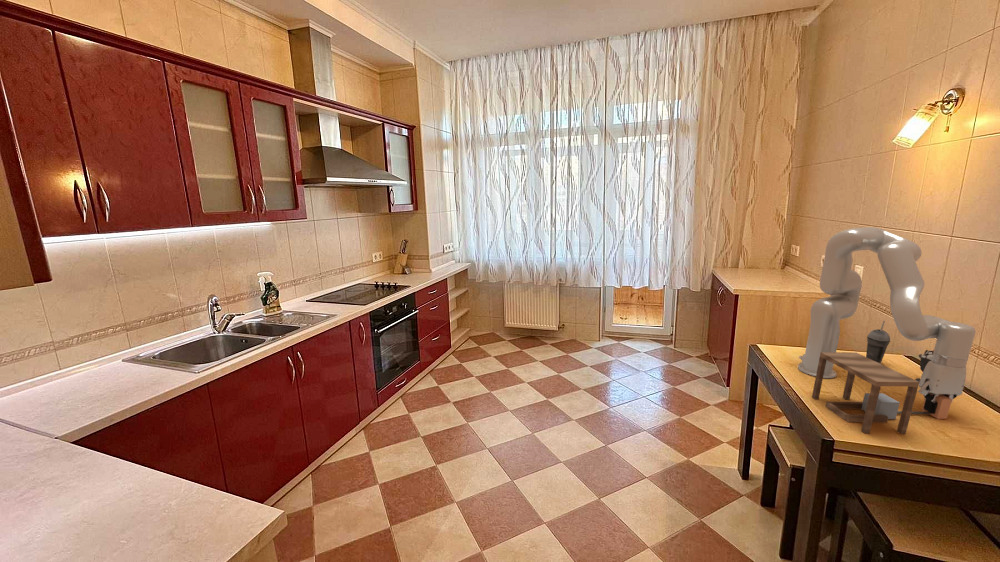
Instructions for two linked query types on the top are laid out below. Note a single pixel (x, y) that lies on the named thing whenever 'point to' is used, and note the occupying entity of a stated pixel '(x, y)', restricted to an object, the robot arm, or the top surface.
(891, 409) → the lopsided dumbbell
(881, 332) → the beverage cup
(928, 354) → the sundae
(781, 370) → the top surface
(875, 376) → the wooden side table
